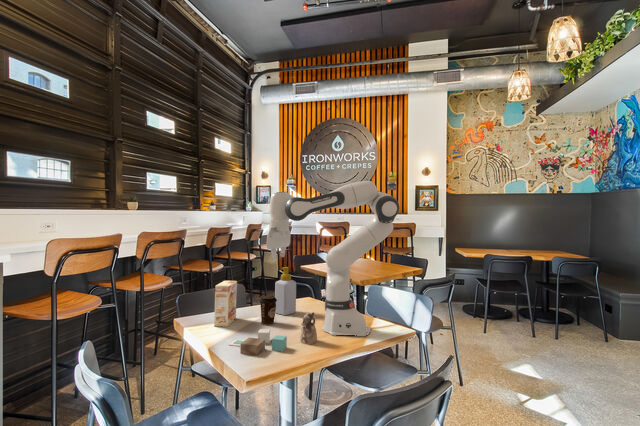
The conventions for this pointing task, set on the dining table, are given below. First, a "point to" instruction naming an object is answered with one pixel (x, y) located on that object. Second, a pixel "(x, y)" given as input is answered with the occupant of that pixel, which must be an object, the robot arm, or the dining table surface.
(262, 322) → the coffee cup
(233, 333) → the dining table surface
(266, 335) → the cream cube
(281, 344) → the teal cube
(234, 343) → the tile
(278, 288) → the soap bottle
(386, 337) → the dining table surface
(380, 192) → the robot arm
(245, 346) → the walnut base
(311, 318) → the figurine
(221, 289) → the coffeecake box
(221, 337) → the dining table surface
